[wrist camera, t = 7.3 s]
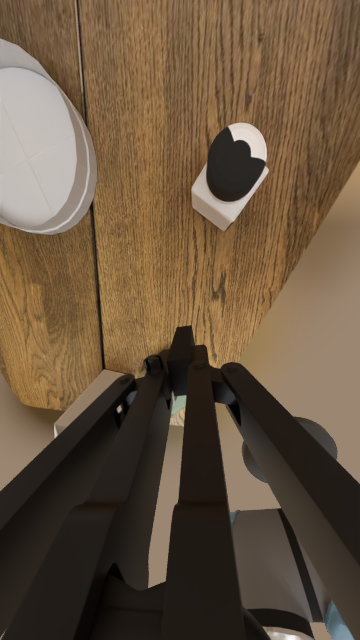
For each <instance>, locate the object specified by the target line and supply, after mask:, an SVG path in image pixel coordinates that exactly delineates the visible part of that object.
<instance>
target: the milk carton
mask: <svg viewBox="0 0 360 640" xmlns="http://www.w3.org/2000/svg"><path fill="white" fill-rule="evenodd" d="M122 375H126V374H123V373H119V372H114V371H110V370H105V369H104V370H103V371H102V372H101V373H100V374H99V375H98V376H97V377H96V378H95V380H94V381H93V382H92V383H91V384H90V385H89V386H88V387H87V388H86V389H85V391H84V392H83V393H82V394H81V395H80V396H79V397H78V398H77V399H76V400H75V402H74V403H73V404H72V405H71V406H70V407H69V408H68V409H67V410H66V411H65V413H64V414H63V415H62V416H61V417H60V418H59V419H58V420H57V421H56V422H55V423H54V430H55V431H54V432H55V438H56V437H57V436H58V435H59V434H60V433H61V432H62V431H63V430H64V429H65V428H66V427H67V426H68V425H69V424H70V423H72V422H73V421H74V420H75V419H76V418H77V417H78V416H79V415H80V414H81V413H82V412H83V411H84V410H85V409H86V408H87V407H88V406H89V405H90V404H91V403H92V402H93V401H94V400H95V399H96V398H97V397H98V396H99V395H100V394H101V393H103V392H104V391H105V390H106V389H107V388H108V387H109V386H110V385H111V384H112V383H113V382H114V381H115V380H116V379H117V378H119V377H121V376H122ZM121 410H122V409H121V406H119V407H118V408H117V411H118V413H119V412H120V411H121Z"/></svg>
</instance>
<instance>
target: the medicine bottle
mask: <svg viewBox="0 0 360 640" xmlns="http://www.w3.org/2000/svg"><path fill="white" fill-rule="evenodd" d="M266 158H267V149H266V143H265V140H264V138H263V136H262V134H261V133H260V132H259V130H257V129H256V128H255V127H254V126H252V125H250V124H247V123H235V124H232V125H230V126H228V127H226V128H225V129H223V130H222V131H221V132H220V133H219V134H218V135H217V136H216V138H215V139H214V141H213V143H212V145H211V147H210V150H209V153H208V160H207V163H206V164H205V166H204V168H203V169H202V171H201V173H200V174H199V176H198V178H197V180H196V181H195V183H194V185H193V186H192V188H191V194H192V207H193V208H194V209H195V210H196V211H198V212H199V213H200V214H201V215H203V216H204V217H205V218H207V219H208V220H209V221H211V222H212V223H213V224H214V225H216V226H217V227H218V228H220V229H221V230H222V231H224V232H225V231H227V229H228V228H229V227H230V226H231V224H232V223H233V222H234V221H235V219H236V218H237V216H238V215H239V214H240V212H241V211H242V209H243V208H244V206H245V205H246V204H247V202H248V201H249V199H250V198H251V197H252V195H253V194H254V192H255V191H256V189H257V188H258V187H259V185H260V184H261V182H262V181H263V179H264V178H265V177H266V175H267V174H268V171H269V169H268V168H267V167H266V166H265V164H266Z"/></svg>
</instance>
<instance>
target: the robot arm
mask: <svg viewBox="0 0 360 640" xmlns="http://www.w3.org/2000/svg"><path fill="white" fill-rule="evenodd" d="M144 364H145V368H146V374H145V376H144V377H141V378H137V379H135V378H134V376H133V375H132V374H126V375H122V376H121V377H119V378H117V379H116V380H115V381H114V382H113V383H112V384H111V385H110V386H109V387H108V388H107V389H106V390H105V391H104V392H103V393H101V394H100V395H99V396H98V397H97V398H96V399H95V400H94V401H93V402H92V403H91V404H90V405H89V406H88V407H87V408H86V409H85V410H84V411H83V412H82V413H81V414H80V415H79V416H78V417H77V418H76V419H75V420H74V421H73V422H72V423H70V424H69V425H68V426H67V427H66V428H65V429H64V430H63V431H62V432H61V433H60V434H59V435H58V436H57V437H56V438H55V439H54V440H53V441H52V442H51V443H50V444H49V445H48V446H47V447H46V448H45V449H44V450H43V451H42V452H41V453H39V455H38V456H36V457H35V458H34V460H32V461H31V462H30V463H29V464H28V465H27V466H26V467H25V468H24V469H23V470H22V471H21V472H20V473H19V474H18V475H17V476H16V477H15V478H14V479H13V480H12V481H11V482H10V483H9V484H8V485H6V487H4V488H3V489H2V490H1V491H0V637H1V636H2V634H3V633H4V632H5V633H4V635H3V637H2V639H1V640H315V639H314V636H313V633H312V630H311V627H310V622H323V623H325V626H326V629H327V632H328V633H329V634H330V636H331V638H332V639H333V640H360V484H359V483H358V482H357V481H356V480H355V479H354V478H353V477H352V476H351V475H350V474H349V473H348V472H347V471H346V470H345V469H344V468H343V467H342V466H341V465H340V464H339V463H338V462H337V461H336V460H335V459H334V458H333V457H332V456H331V455H330V454H329V452H328V451H327V450H326V449H325V448H324V447H323V446H322V445H321V444H320V443H319V442H318V441H317V440H316V439H315V438H314V437H313V436H312V435H311V434H310V433H309V432H308V431H307V430H306V429H305V428H304V427H303V426H302V425H301V424H300V423H299V422H298V421H297V420H296V419H295V418H294V417H293V416H292V415H291V414H290V413H289V412H288V411H287V410H286V409H285V408H284V407H283V406H282V405H281V404H280V403H279V402H278V401H277V400H276V399H275V398H274V397H273V396H272V395H271V394H270V393H269V392H268V391H267V390H266V389H265V388H264V387H263V386H262V385H261V384H260V383H259V382H258V381H257V380H256V379H255V378H254V376H253V375H251V373H249V371H248V370H247V369H246V368H245V367H243V366H242V365H241V364H239V363H235V362H230V363H226V364H224V365H223V366H222V367H221V369H218V368H214V367H212V366H210V364H209V359H208V353H207V347H206V346H205V345H196V346H195V343H194V337H193V331H192V325H190V326H183V327H177V328H176V332H175V335H174V338H173V341H172V344H171V348H170V349H168V350H162V351H161V352H160V353H159V355H151V356H149V357H147V358H146V359H145V360H144ZM172 391H173V394H174V396H185V395H186V408H185V421H184V435H183V448H182V462H181V475H180V488H179V499H178V503H177V504H176V505H175V506H174V510H173V515H172V523H171V533H170V544H169V553H168V564H167V576H166V581H165V582H163V583H160V584H158V585H155V586H153V587H151V588H148V579H149V578H148V577H149V571H148V554H149V547H150V541H151V534H152V528H153V522H154V516H155V510H156V504H157V498H158V491H159V485H160V479H161V473H162V466H163V461H164V454H165V448H166V442H167V436H168V430H169V424H170V418H171V412H172V406H173V398H172ZM215 402H217V403H222V404H225V405H226V408H227V410H228V412H229V413H230V415H231V417H232V419H233V421H234V422H235V424H236V426H237V428H238V430H239V431H240V433H241V435H242V437H243V439H244V441H245V443H246V444H247V446H248V448H249V450H250V452H251V453H252V455H253V457H254V459H255V461H256V463H257V464H258V466H259V468H260V470H261V472H262V473H263V475H264V477H265V479H266V481H267V483H268V484H269V486H270V488H271V490H272V492H273V494H274V495H275V497H276V499H277V501H278V502H279V504H280V506H281V508H279V509H264V510H246V511H240V510H236V511H235V512H230V510H229V503H228V496H227V489H226V481H225V474H224V467H223V460H222V452H221V445H220V438H219V431H218V423H217V417H216V409H215ZM119 406H121V409H122V410H121V411H120V412H119V413H118V411H117V408H118V407H119ZM5 630H6V631H5Z"/></svg>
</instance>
